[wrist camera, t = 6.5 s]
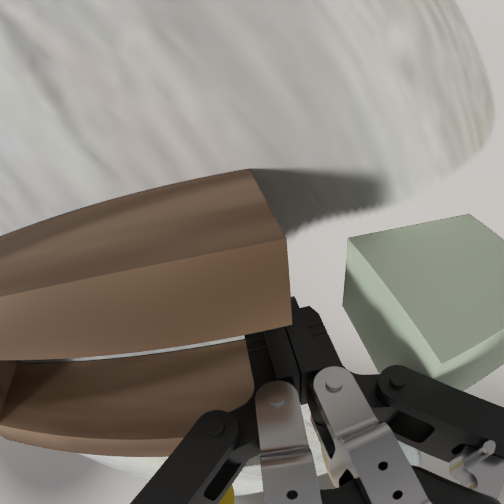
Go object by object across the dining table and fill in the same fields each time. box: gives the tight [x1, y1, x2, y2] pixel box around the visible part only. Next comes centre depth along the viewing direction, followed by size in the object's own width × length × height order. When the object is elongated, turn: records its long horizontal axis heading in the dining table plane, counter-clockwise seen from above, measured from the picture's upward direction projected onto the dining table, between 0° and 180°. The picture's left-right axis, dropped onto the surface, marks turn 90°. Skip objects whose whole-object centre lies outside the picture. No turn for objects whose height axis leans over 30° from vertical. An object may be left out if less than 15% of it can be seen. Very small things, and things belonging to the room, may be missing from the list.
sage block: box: [342, 214, 504, 391], centre depth 11 cm, size 4×8×7 cm, turn 97°
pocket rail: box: [0, 169, 292, 457], centre depth 10 cm, size 11×19×5 cm, turn 98°
